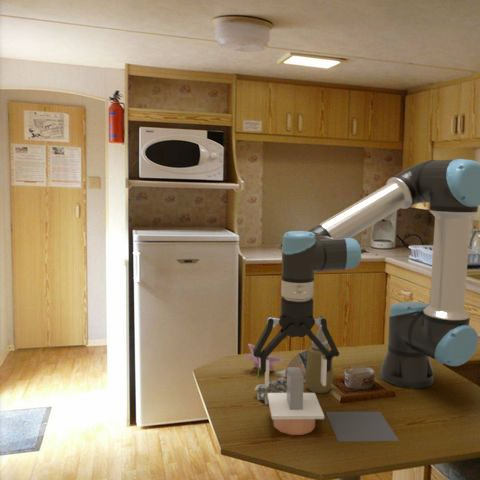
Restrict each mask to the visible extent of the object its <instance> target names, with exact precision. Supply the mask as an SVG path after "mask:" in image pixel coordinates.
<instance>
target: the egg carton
mask: <svg viewBox="0 0 480 480" xmlns="http://www.w3.org/2000/svg"><path fill="white" fill-rule="evenodd" d="M254 391H256V399H257V400H258V401H264V404H265V405H267V406H269V401H268V396H267V393H287V379H285V378H284V377H283V376H281V377H280V378H278V379H276V380H273V381H272V380H269V386H266V385H265V383H259V384H257V385H256V386H255V388H254Z"/></svg>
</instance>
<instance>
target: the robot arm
mask: <svg viewBox="0 0 480 480" xmlns="http://www.w3.org/2000/svg"><path fill="white" fill-rule="evenodd" d="M421 203H429V210H428V211H429V212H430V214H431V215H433V216H434V217H433V218H434V232H433V245H432V246H433V247H432V263H431V276H430V277H431V279H430V291H429V292H430V294H429V295H430V296H429V303H426V302H421V301H420V302H419V301H405V302H396V303H393V304H392V305H391V306H390V309H389V315H388V338H387V339H388V341H387V343H388V344H387V352H386V355H385V357H384V358H383V362H382V365H381V366H380V378H381V379H382V380H383V381H384V382H387V383H389V384H391V385H393V386H398V387H401V388H406V389H423V388H424V389H425V388H429V387H430V386H432V385H433V384H434V378H435V376H434V375H435V373H434V370H433V366H432V362H431V360H430V358H431V359H434V360H435V361H437V362H438V363H441V364H444V365H447V366H450V367H459V366H462V365H463V364H465V363H467V362H468V361H470V358H473V356H474V354H475V353H476V350H477V348H478V344H479V334H478V332H477V330H476V329H475V328H474V327H473V326H472V325H470V321H471V318H470V315H471V314H470V313H469V312H468V311H467V310H466V309H465V304H466V303H465V302H466V301H465V300H466V299H465V298H466V287H467V286H466V285H467V272H468V271H467V270H468V258H469V246H470V245H469V243H470V232H471V220H472V218H473V217H475V216H476V215H477V214H478V212H479V206H480V162H478V161H476V160H472V159H465V158H457V159H456V158H455V159H428V160H427V159H426V160H424V161H421V162H419V163H416V164H414V165H412V166H410V167H408V168H405V169H404V170H402V171H400V172H399V173H396V174H395V175H393V176H392V177H390V178H389V179H387V181H386V184H385V185H384V186H382V187H380V188H378V189H377V190H375V191H374V192H371V193H370V194H368V195H367V196H364V197H363V198H361V199H360V200H357V202H355V203H353V204H351V205H350V206H348V207H346V208H345V209H343V210H341V211H340V212H338V213H336V214H334V215H333V216H330V217H329V218H328V219H326V220H324V221H323V222H321V223H319V224H317V225H315V226H313V227H312V228H310V229H308V230H291V231H290V230H289V231H287V232H285V233H284V234H283V236H282V244H281V245H282V246H281V284H280V285H281V287H280V288H281V289H280V293H281V294H280V295H281V298H280V315H279V318H277V317H272V316H271V315H269V316H267V318H266V325H265V327H264V329H263V331H262V333H261V334H260V336H259V338H258V340H257V342H256V344H255V345H254V346H255V348H254V350H253V354H254V356H255V357H259V358H260V359H261V365H260V371H261V373H264V384H265V385H266V386H269V382H270V369H269V357H268V356H269V355H270V353H271V354H272V352H273V351H274V350H275V349H276V348H277V347H278V346H279V345H280V344H281V342H282V341H283V340H285V339H286V338H287V337H290V338H296V337H298V338H304V337H306V336H307V337H308V338H309V339H310V340H311V342H312V341H313V342H314V343H315V345H316V346H317V347H318V348H319V349H320V351H321V352H322V353H323V354H324V355H325V356H321V383H322V385H323V386H326V372H327V371H330V370H331V360H332V361H333V358H335V357H339V356H340V352H339V350H338V348H337V345H336V343H335V342H334V340H333V337H332V336H331V333H330V332H329V329H328V324H327V319H326V318H325V317H324V315H321V316H319V317H316V318H314V299H313V297H314V291H315V290H314V289H315V288H314V282H315V272H327V271H345V270H350V269H356V267H358V266H359V264H360V262H361V260H362V248H361V246H360V244H359V242H358V240H356V239H355V238H353V237H355V236H357V235H358V234H360V233H361V232H363V231H364V230H367V229H368V228H370V227H372V226H373V225H374V224H376V223H378V222H380V221H382V220H383V219H385V218H386V217H388V216H390V215H392V214H393V213H394V212H397V211H398V210H400V209H405V210H406V209H408V208H410V207H413V205H417V204H421ZM315 324H316V325H317V326H318V328H321V329H322V331H323V334H324V338H325V340H327V342H328V347H330V348H329V349H330V351H328V350H327V349H326V347H325V346H324V345H323V344H322V343H321V342H320V340H319V339H318V338H317V337H316V336H317V335H316V334H315V333H314V332H313V331H312V330H311V329H313V327H314V326H315ZM277 325H278V326H280V327H281V328H280V329H279V330H278V332H277V333H276V335H275V336H274V337H273V338H272V339H271V340H270V341H269V343H268V344H267V345H266V346H265V344H266V342H267V341H268V339H269V337H270V335H271V333H272V332H273V329H274V328H275V327H277Z"/></svg>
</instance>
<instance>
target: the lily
mask: <svg viewBox="0 0 480 480" xmlns="http://www.w3.org/2000/svg"><path fill="white" fill-rule="evenodd" d="M247 346H248V348H249V350H250V353H248V354H243V355H242V357H243V358H246V359H249V360H252V361H253V366H254V367H255V368H258V370H257V380H258V379H259V374H260V370H261V368H260V365H261V359H260V358H259V357H255V356H254V354H253V350H254V348H255V346H256V345H253V344H252V343H248V344H247ZM271 354H272V352H271V353H270V355H269V356H268V357H269V370H271V371H272V372H275V370H276V369H275V366H274V365H273V364H276V363H282V362H283V363H284V362H285V360H284V359H283V358H281V357H279V356H276V355H271Z"/></svg>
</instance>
